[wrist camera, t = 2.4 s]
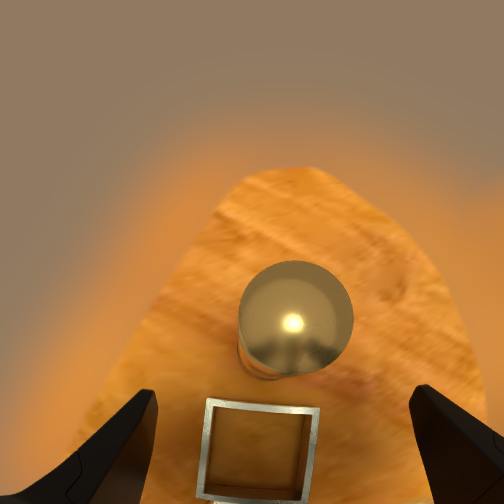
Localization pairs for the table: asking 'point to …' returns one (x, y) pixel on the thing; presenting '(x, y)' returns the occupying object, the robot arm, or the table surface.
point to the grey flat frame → (252, 499)
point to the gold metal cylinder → (292, 321)
